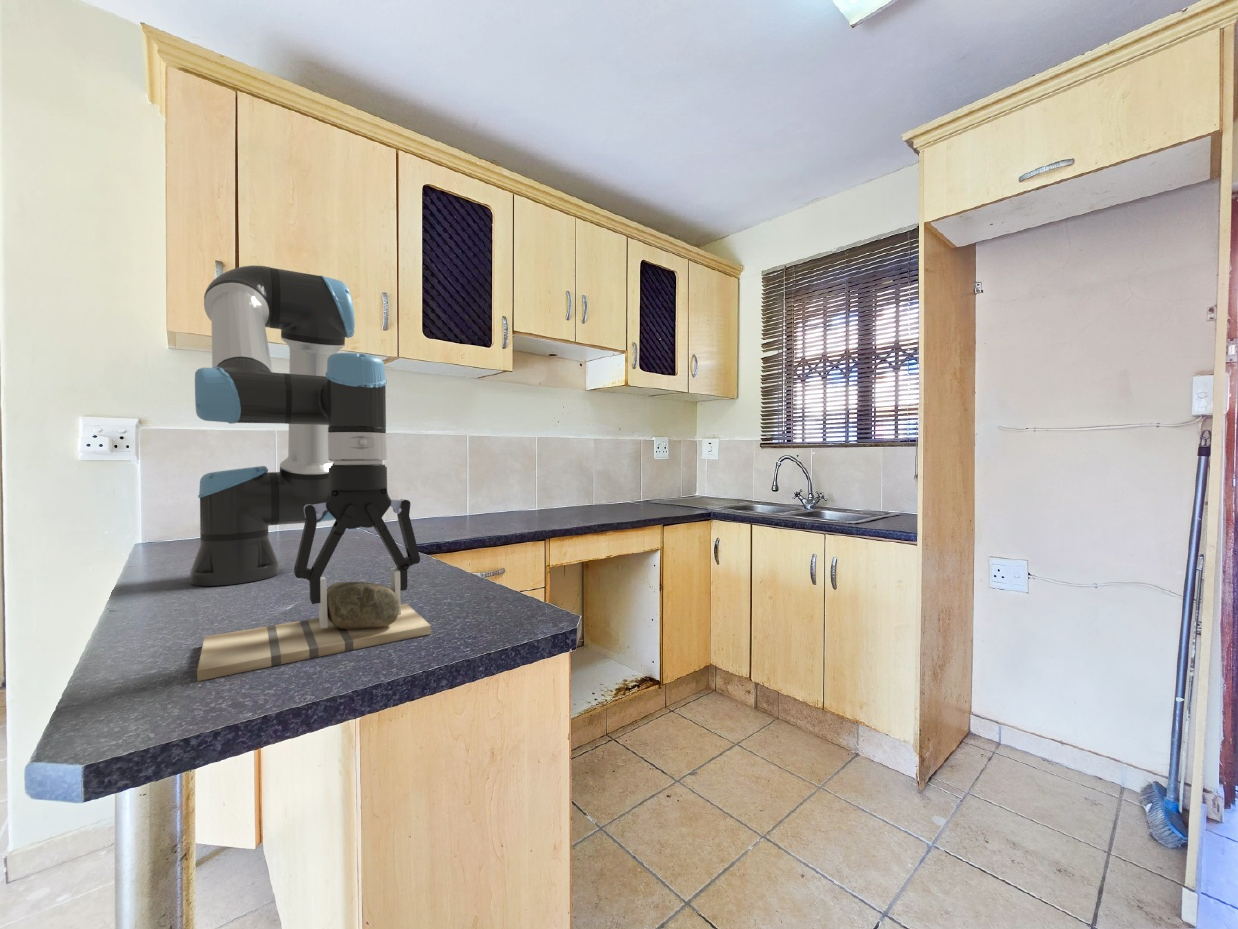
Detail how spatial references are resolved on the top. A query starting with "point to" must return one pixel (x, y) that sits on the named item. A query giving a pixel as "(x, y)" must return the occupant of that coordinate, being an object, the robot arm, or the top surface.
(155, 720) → the top surface
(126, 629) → the top surface
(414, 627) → the board
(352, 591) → the stone
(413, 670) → the top surface
